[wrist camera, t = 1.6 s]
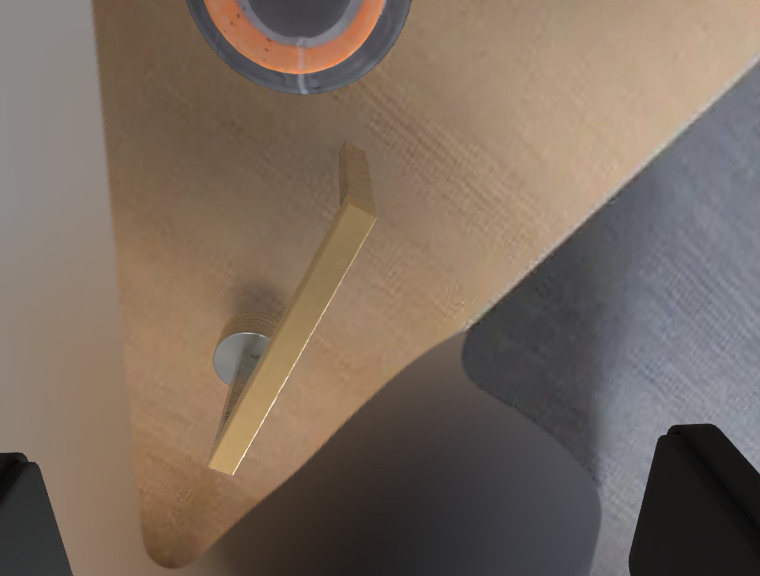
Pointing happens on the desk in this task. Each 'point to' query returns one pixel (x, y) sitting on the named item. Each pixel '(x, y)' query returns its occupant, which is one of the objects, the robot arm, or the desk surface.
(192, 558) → the desk surface
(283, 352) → the wood-topped metal bracket
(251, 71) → the pill bottle
